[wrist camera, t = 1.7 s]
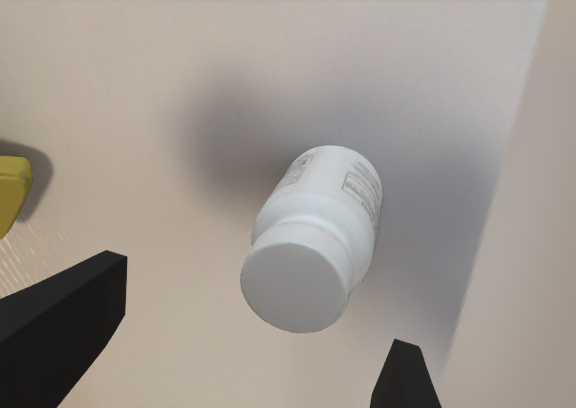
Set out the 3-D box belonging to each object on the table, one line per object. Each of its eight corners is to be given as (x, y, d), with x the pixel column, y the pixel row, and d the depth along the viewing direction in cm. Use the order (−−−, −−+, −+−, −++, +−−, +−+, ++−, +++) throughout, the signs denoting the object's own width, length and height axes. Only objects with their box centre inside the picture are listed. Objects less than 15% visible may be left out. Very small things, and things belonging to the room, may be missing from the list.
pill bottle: (282, 225, 23) (224, 331, 17) (288, 136, 21) (225, 215, 15) (376, 241, 23) (355, 360, 16) (390, 150, 21) (373, 241, 14)
